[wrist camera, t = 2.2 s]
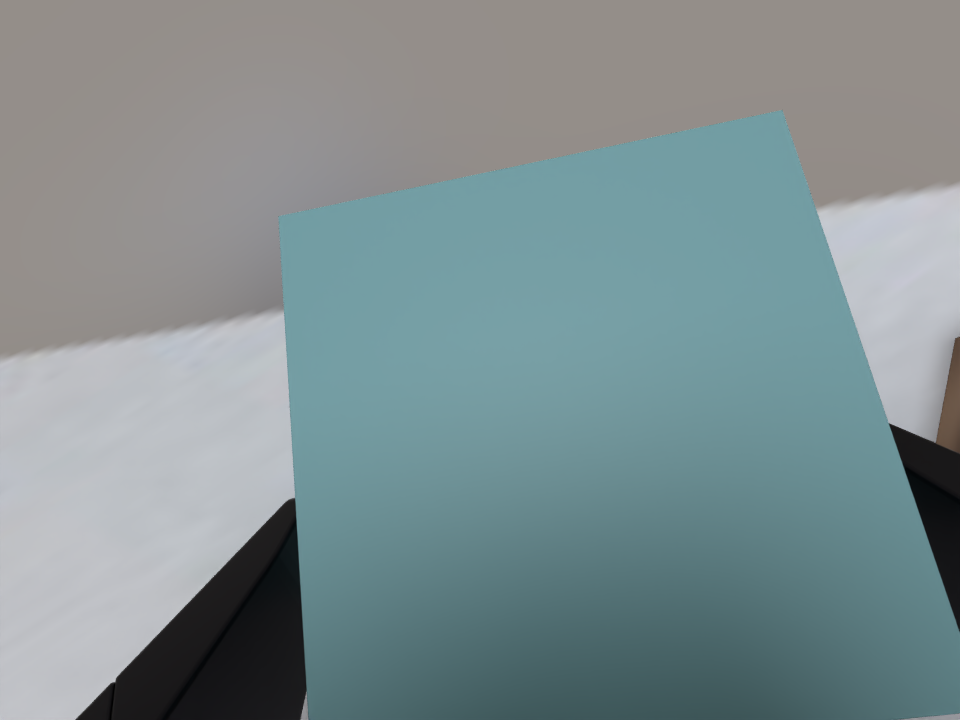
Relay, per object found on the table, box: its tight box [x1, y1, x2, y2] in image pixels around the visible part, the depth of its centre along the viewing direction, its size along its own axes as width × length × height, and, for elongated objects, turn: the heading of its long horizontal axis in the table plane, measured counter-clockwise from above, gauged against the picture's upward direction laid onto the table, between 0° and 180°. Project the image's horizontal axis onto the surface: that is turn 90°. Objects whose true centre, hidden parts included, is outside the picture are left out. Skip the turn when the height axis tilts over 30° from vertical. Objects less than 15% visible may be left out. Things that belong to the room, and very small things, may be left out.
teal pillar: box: [279, 110, 960, 720], centre depth 11 cm, size 5×5×13 cm
